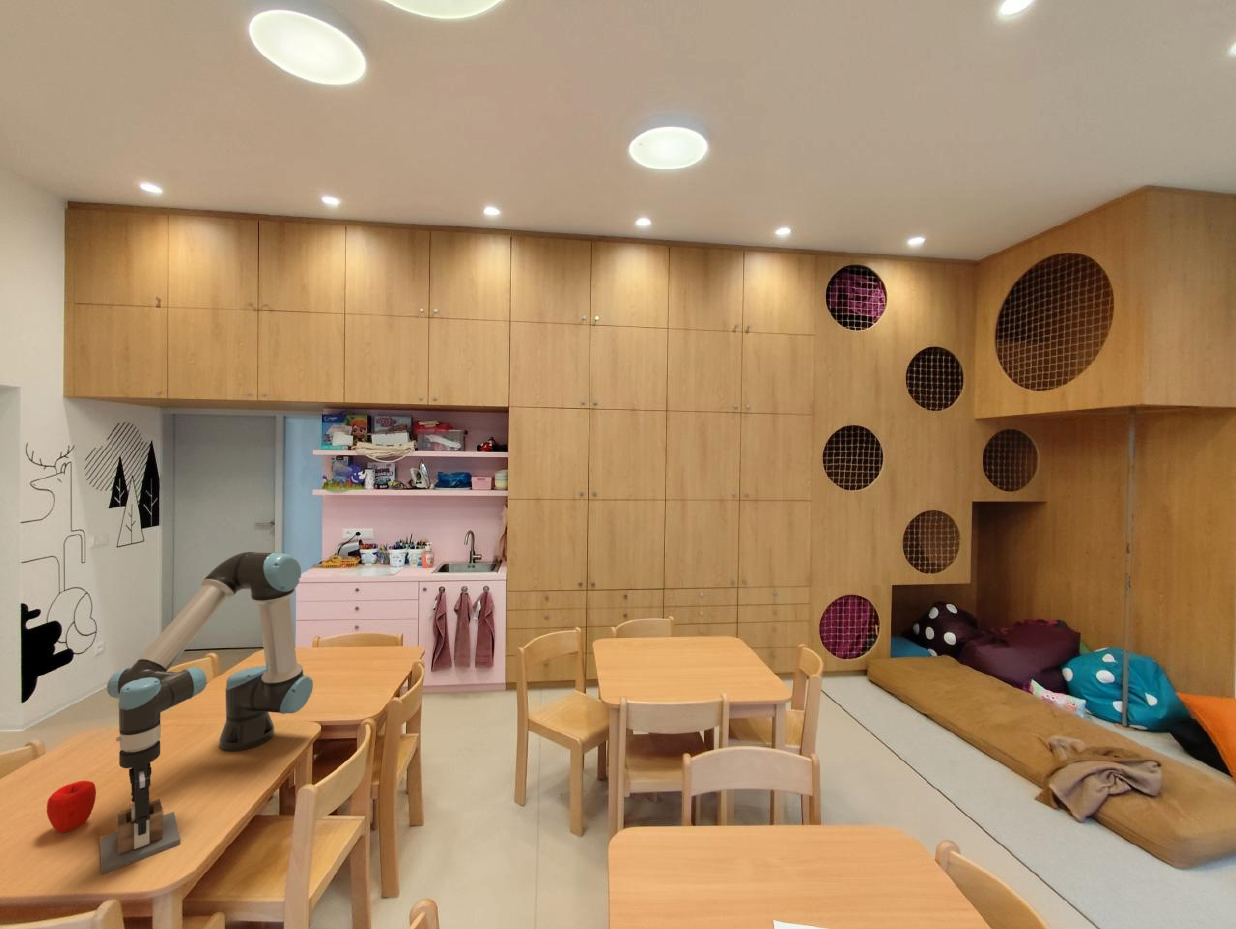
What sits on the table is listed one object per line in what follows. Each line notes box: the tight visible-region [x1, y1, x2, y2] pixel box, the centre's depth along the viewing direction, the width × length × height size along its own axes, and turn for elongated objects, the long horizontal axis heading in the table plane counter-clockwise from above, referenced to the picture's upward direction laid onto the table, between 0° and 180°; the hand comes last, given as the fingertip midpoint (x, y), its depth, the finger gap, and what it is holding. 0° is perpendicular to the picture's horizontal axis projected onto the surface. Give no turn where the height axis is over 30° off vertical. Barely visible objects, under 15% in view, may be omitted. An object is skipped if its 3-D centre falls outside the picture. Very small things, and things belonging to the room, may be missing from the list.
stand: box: [99, 806, 181, 876], centre depth 131 cm, size 14×14×9 cm
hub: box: [116, 798, 164, 855], centre depth 131 cm, size 8×8×6 cm
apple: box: [46, 780, 97, 834], centre depth 136 cm, size 9×9×11 cm
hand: (140, 836), depth 131 cm, fingers closed on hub, 8 cm apart
